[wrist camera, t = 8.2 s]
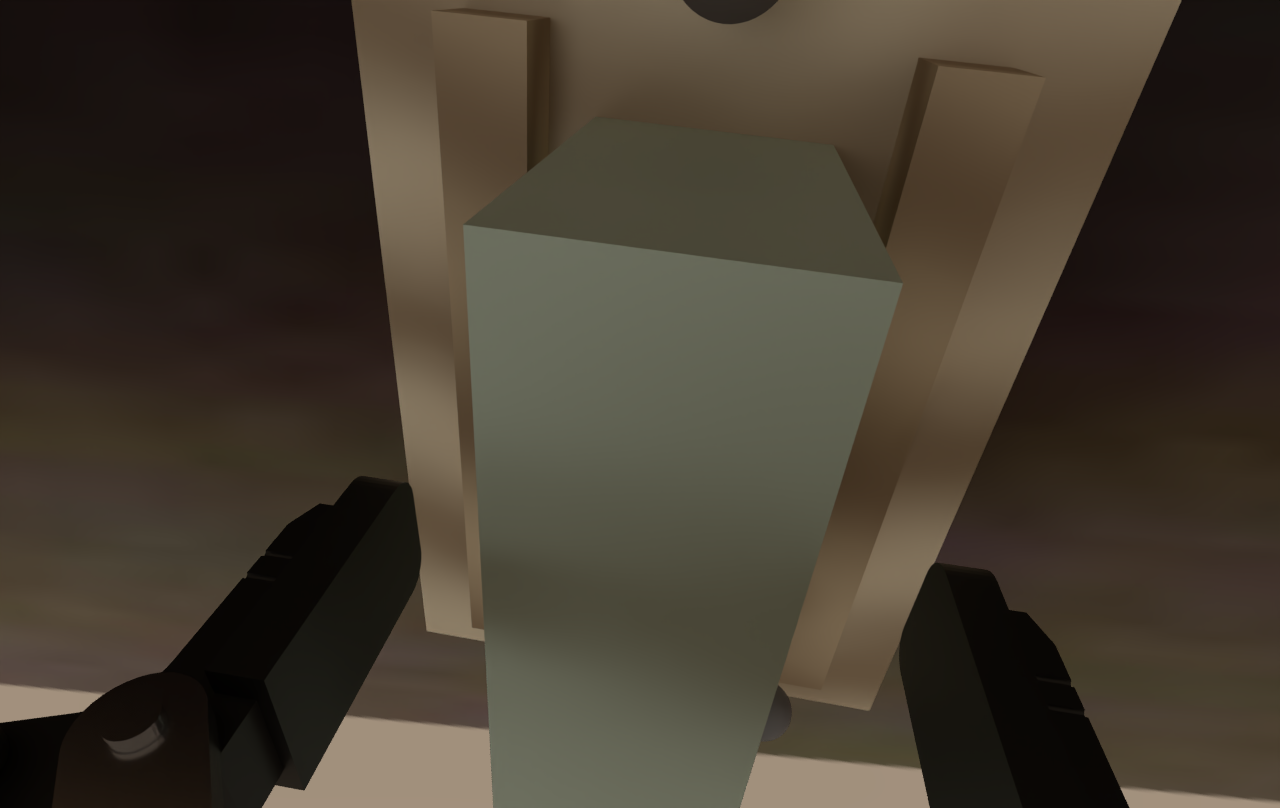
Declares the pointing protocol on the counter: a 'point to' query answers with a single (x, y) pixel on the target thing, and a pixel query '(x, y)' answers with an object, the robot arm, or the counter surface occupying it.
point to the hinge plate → (787, 109)
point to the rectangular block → (660, 449)
